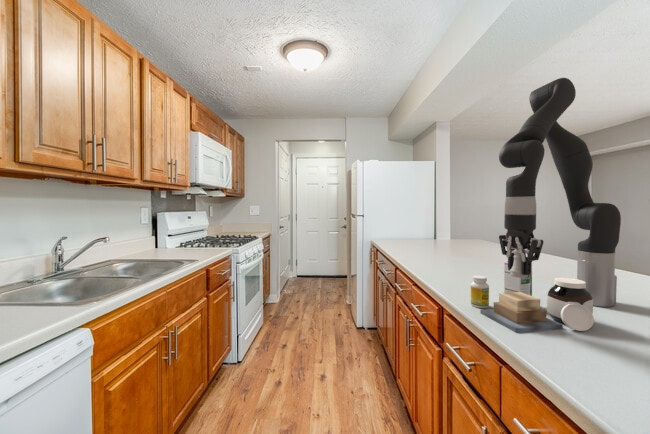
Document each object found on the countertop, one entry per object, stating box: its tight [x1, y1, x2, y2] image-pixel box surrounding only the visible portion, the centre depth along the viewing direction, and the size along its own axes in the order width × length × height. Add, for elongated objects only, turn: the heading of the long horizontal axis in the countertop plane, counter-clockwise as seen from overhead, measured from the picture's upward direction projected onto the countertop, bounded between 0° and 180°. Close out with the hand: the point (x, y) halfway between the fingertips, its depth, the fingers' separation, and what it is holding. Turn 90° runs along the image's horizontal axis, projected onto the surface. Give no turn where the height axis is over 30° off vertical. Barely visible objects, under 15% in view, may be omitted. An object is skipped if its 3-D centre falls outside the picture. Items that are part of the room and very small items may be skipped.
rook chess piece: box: [510, 248, 528, 278], centre depth 85 cm, size 4×4×8 cm
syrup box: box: [503, 260, 533, 296], centre depth 99 cm, size 6×6×14 cm
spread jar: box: [546, 277, 595, 332], centre depth 83 cm, size 12×11×12 cm
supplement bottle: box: [470, 275, 490, 309], centre depth 98 cm, size 5×5×10 cm
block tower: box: [480, 292, 564, 333], centre depth 86 cm, size 14×14×7 cm
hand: (518, 272), depth 85 cm, fingers closed on rook chess piece, 4 cm apart
